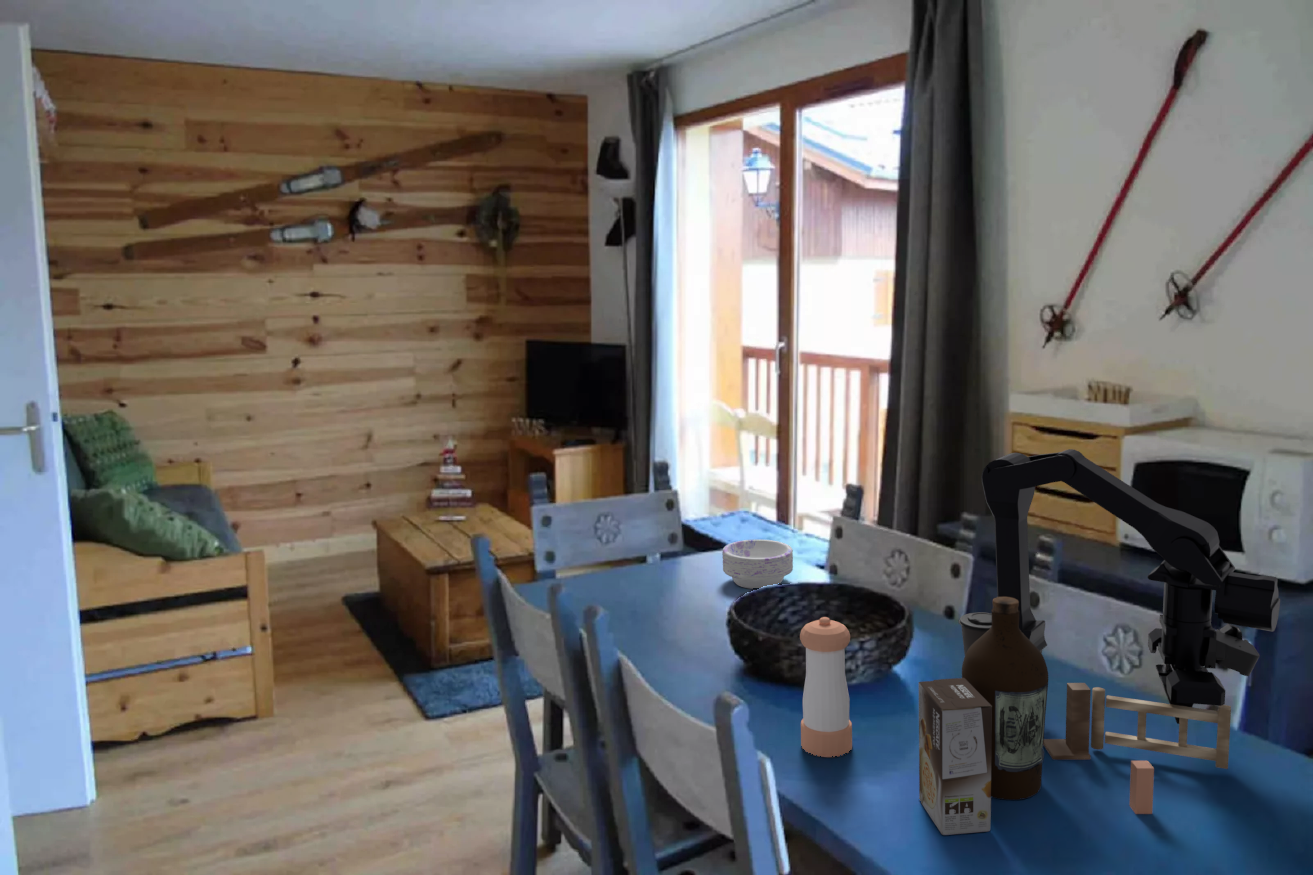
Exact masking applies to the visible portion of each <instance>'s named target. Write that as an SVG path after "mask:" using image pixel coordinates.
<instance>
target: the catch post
mask: <svg viewBox="0 0 1313 875" xmlns="http://www.w3.org/2000/svg"><path fill="white" fill-rule="evenodd" d="M1154 777H1155V768H1154V766H1152V764H1151V763H1150V762H1149V761H1148V760H1130V777H1129V778H1130V779H1129V805H1128V806H1129V807H1130V808H1131V810H1132V811H1133V812H1134V814H1135V815H1153V809H1154V808H1153V805H1154V802H1153V801H1154V784H1155V783H1154V781H1155V780H1154Z"/></svg>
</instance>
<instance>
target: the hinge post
mask: <svg viewBox="0 0 1313 875" xmlns="http://www.w3.org/2000/svg"><path fill="white" fill-rule="evenodd" d="M1091 692H1092V691H1091V688H1090V687H1089V685H1087V684H1086V682H1067V683H1066V701H1065V702H1066V707H1065V708H1066V711H1065V712H1066V713H1065V738H1044V742H1043V748H1045V750H1046V752H1047V753H1048V754H1049V756H1050V758H1051V759H1052V760H1057V761H1059V760H1062V761H1063V760H1069V761H1070V760H1074V761H1079V760H1081V761H1082V760H1083V761H1084V760H1085V761H1086V760H1091V754H1090V730H1091V729H1090V725H1091V723H1090V722H1091V721H1090V720H1091V719H1090V717H1091V695H1092V694H1091Z"/></svg>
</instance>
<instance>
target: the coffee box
mask: <svg viewBox="0 0 1313 875" xmlns="http://www.w3.org/2000/svg"><path fill="white" fill-rule="evenodd" d="M991 734H992V706H991V704H990V703H989V702H988V701H987V700H986V699H985V698H984V697H983V696H982V695H981V694H980V693H979V692H978V691H977V690H976V689H975V688H974V687H973V686H972V685H971V684H970V683H969V682H968V681H967V680H966V679H965V678H962V677H959V678H956V677H955V678H941V679H933V680H926V681H923V680H922V681H919V682H918V760H919V761H918V769H919V770H918V771H919V772H918V774H919V775H918V776H919V779H918V780H919V782H918V784H919V785H918V787H919V793H918V794H919V795H918V796H919V797H918V800H919V799H920V800H919V802H920V801H921V802H920V803H921V805H922V806H923V808H924V809H925V811H926V813H927V814H928V816H929V817H930V819H931V821H932V822H933V823H934V825H935V826H936V827H937V829H938V831H939V832H940V834H941V835H943V836H949V835H952V836H953V835H960V834H961V835H962V834H973V833H987V832H990V831H991V824H992V823H991V821H992V820H991V818H992V817H991V816H992V813H991V812H992V797H991Z"/></svg>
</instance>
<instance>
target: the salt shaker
mask: <svg viewBox="0 0 1313 875" xmlns="http://www.w3.org/2000/svg"><path fill="white" fill-rule="evenodd" d="M799 639H800V642H801V644H802V646H804V648H805V680H804V686H803V695H802V717H803V718H802V719H801V721H800V747H801V746H802V747H801V749H802V750H803V749H804V750H805V751H804V750H803V751H804V752H806V753H807V752H808V753H807V754H809V753H811V754H810V755H812V754H813V755H812V756H816V755H817V756H816V757H820V756H821V758H836V757H835V756H837V757H841V756H844V755H843V754H845V753H847V754H849V753H850V752H851V751H850V750H852V749H853V723H852V721H851V720H850V695H849V690H848V683H847V677H846V660H845V656H846V654H845V650H846V648H847V647H848V645H849V643H850V641H851V634H850V631H849V629H848V628H847V627H846V625H844V624H843V623H841V622H839V621H835V620H832V619H830V617H827V616H822V617H820V618H819V619H816V620H812V621H811V622H808V623H806V624H805V625H804V626H803V627H802V628H801V630H800V634H799ZM849 751H850V752H849ZM840 755H841V756H840ZM845 755H846V754H845ZM832 756H833V757H832Z"/></svg>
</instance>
